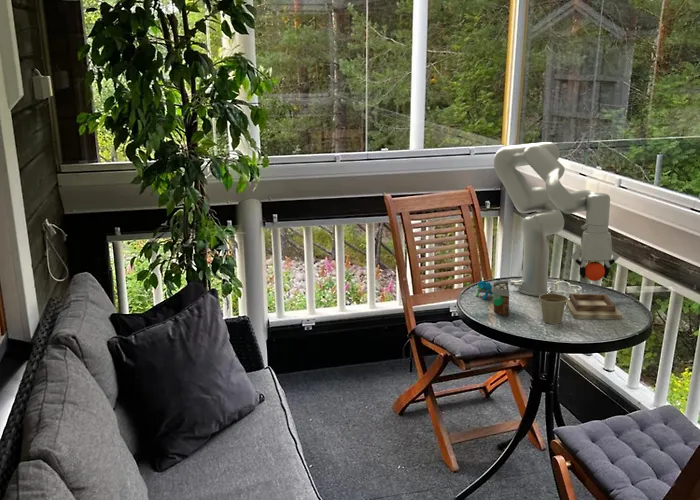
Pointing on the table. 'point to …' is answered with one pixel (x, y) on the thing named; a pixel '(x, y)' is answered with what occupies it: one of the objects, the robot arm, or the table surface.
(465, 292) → the table surface
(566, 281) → the table surface
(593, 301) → the board
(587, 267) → the clementine
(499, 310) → the food container
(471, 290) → the table surface
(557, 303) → the flower pot
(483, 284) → the toy dinosaur
